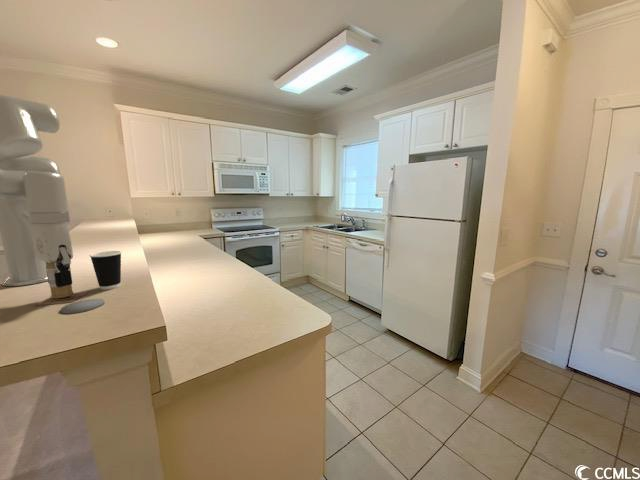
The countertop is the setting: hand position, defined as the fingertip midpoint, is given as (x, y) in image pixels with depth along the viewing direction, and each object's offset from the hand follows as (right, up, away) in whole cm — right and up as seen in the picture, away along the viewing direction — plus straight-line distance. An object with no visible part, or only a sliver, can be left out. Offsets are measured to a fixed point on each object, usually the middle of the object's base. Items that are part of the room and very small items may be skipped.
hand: (60, 283), depth 73 cm
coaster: (+11, -5, -5) cm, 13 cm away
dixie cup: (+6, -3, +10) cm, 12 cm away
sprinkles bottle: (0, -4, +1) cm, 4 cm away
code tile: (+1, -4, 0) cm, 4 cm away
